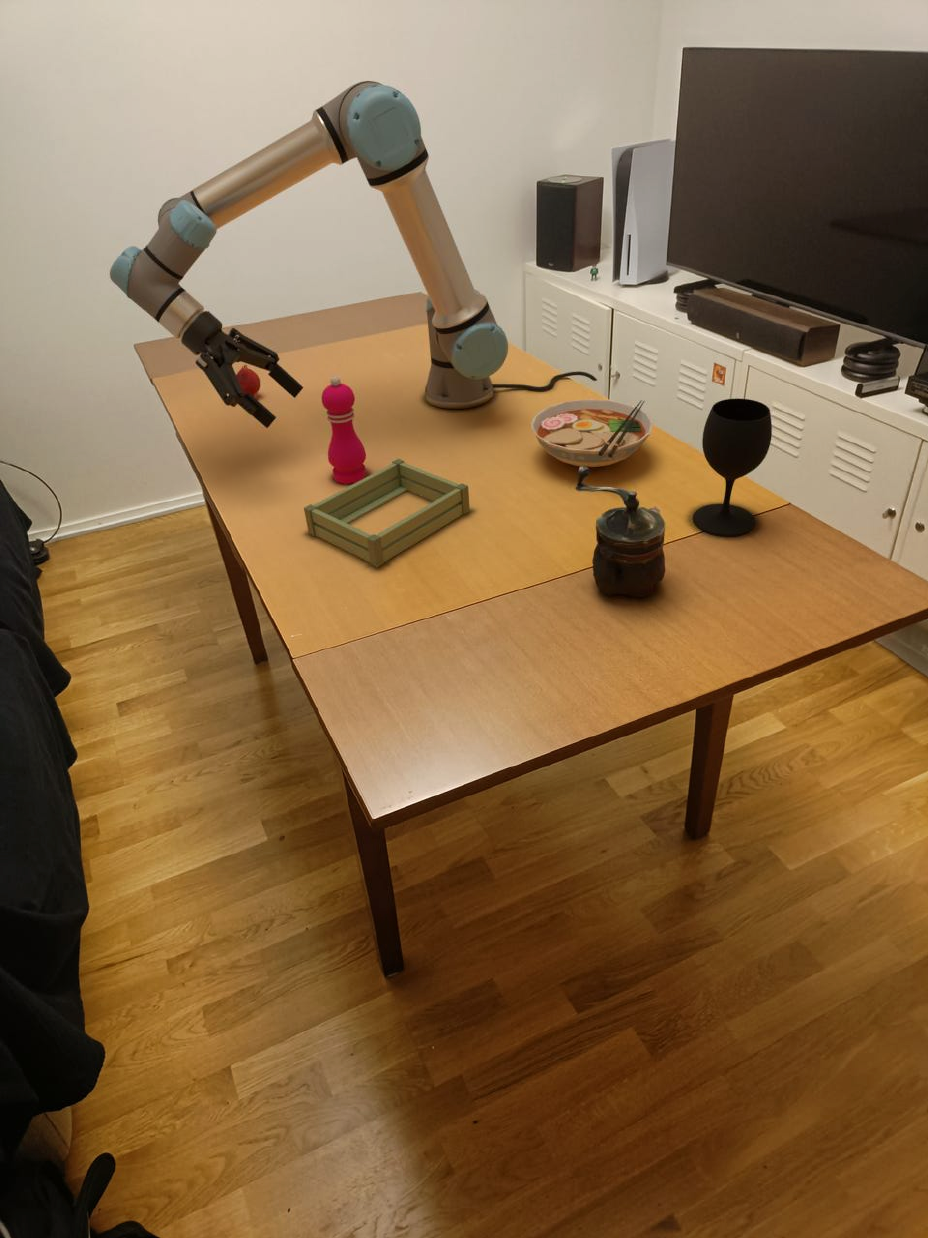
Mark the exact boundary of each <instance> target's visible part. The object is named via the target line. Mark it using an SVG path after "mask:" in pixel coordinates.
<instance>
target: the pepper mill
mask: <svg viewBox="0 0 928 1238" xmlns="http://www.w3.org/2000/svg"><path fill="white" fill-rule="evenodd" d="M355 401H356V397H355V393H354V391H353V389H352V388H351V387H350V386H349V385H347V384H345V383H341V378H340V377H339V376H337V375H333V376H332V377H330V384H329V385H327V386H326V387H325V388H324V389H323V391H322V393H321V404H322V406H323V407H324V409H326V410H327V411H326V415H327V418H326V419H327V421H328V422H330V426H331V439H330V442H329V445H328V449H327V461H328V463H329V465H330V466H332V467H333V468H332V474H333V475H332V476H333V480H334V481H336V482H337V483H339V484H343V485H347V484H350V485H351V484H354V483H356V482H358V481H360V480H362V479H364V478H366V477H367V471H366V469H367V468H366V465H365V464H364V463H365V461H366V459H367V452H366V449H365V446H364V444H363V443H362V440H361V439H360V438H359V436H358V435H357V433H356V431H355V428H354V418H355V413H354V412H355V410H354V408H353V407H354V405H355Z"/></svg>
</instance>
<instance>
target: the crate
mask: <svg viewBox="0 0 928 1238" xmlns="http://www.w3.org/2000/svg"><path fill="white" fill-rule="evenodd" d="M407 491H408V492H409V493H411V494H414V495H417V496H420V497H422V498H423V499H427V500H429V501H431V503H428V504H427V505H426V506H423V507H422V508H420V509H419V510H417V511H415V512H413V513H412V514H409V515H408V516H406V517H405V518H403V519H401V520H400V521H398V522H396V523H394V524H392V525H391V526H389V527H387V528H386V529H384V530H382V531H380V532H379V533H377V534H375V533H373V534H370V533H368V532H366V531H364V530H362V529H359V528H358V527H355V526H353V525H351V524H349V523H352V522H353V521H355V520H357V519H359V518H360V517H362V516H364V515H366V514H367V513H369V512H371V511H373V510H375V509H377V508H378V507H380V506H382V505H385V504H386V503H387V502H389V501H391V500H393V499H394V498H397V497H398V496H400V495H403V493H406V492H407ZM469 492H470V491H469V485H467V484H465V483H457V482H454V481H451V480H448V479H446V478H444V477H441V476H439V475H436V474H433V473H431V472H428V471H426V470H424V469H421V468H418V467H417V466H414V465H411V464H408V463H405V460H403V459H400V458H396V459H395V460H393V461H392V462H391V464H389V465H387V466H385V467H383V468H381V469H379V470H377V471H376V472H374V473H372V474H370V475H367V476H365V478H364V479H362V480H360V481H358V482H356V483H352V484H350V485H349V486H347V487H345V488H343V489H341V490H339V491H337V492H335V493H334V494H331V495H329V496H328V497H325V498H324V499H322V500H320V501H318V502H316V503H314V504H311V503H309V504H308V505H307V506H304V507H303V511H304V517H305V522H306V527H307V531H308V534H309V535H310V536H313V537H318V538H320V539H322V540H323V541H326V542H328V543H330V544H331V545H334V546H335V547H338V548H339V549H341V550H343V551H345V552H347V553H350V554H351V555H354V556H355V557H357V558H360V559H361V560H364V561H365V562H367V563H370V565H371V566H373V567H374V568H376V569H378V568H380V567H382V566H383V565H385V563H386V562H387V561H389V560H391V559H392V558H394V557H395V556H397V555H399V554H400V553H402V552H404V551H406V550H407V549H409V548H410V547H412V546H414V545H416V544H417V543H419V542H420V541H422V540H423V539H425V538H427V537H428V536H430V535H432V534H433V533H435V532H437V531H438V530H440V529H442V528H443V527H445V526H446V525H448V524H450V523H451V522H453V521H455V520H456V519H458V518H460V517H461V516H465V515H467V514H468V513H470V512H471V511H470V494H469Z"/></svg>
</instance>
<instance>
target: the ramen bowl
mask: <svg viewBox="0 0 928 1238" xmlns="http://www.w3.org/2000/svg"><path fill="white" fill-rule="evenodd" d="M644 404H645V400H640V401H639V402H638V403H637V405H636V406H634V405H632V404H629V403H625V402H621V401H616V400H612V399H596V398H594V399H593V398H584V399H577V400H566V401H563V402H560V403H556V404H554V405H550V406H547V407H545V408H543V410H541V411H539V412H538V413H537V414H535V415H534V417H533V418H532V420H531V421H532V422H531V424H530V427H531V429H532V431H533V433H534V435H535V437H536V439H537V442H538V443H539V445H541V447H542V448H543V450H544V451H545V452H547V453H548V455H551V456H552V457H553V458H555V459H557V460H558V461H560V462H562V463H564V464H569V465H572V466H575V467H582V466H587V467H588V468H598V467H605V466H610V465H613V464H617V463H618V462H619V463H620V462H621V461H624V460H626V459H627V458H629V457H630V456H631V455H632V454H633V453H635V452H636V451H637V450H638V449H639V448H640V447H642V445H644V443H645V442H646V441H647V439H648V438H649V436H650V434H651V433H652V429H653V420H652V419H651V418H650V416H649V415H648V413H647V412H646V411H644V410H642V409H641V408H642V407H643V405H644Z"/></svg>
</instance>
